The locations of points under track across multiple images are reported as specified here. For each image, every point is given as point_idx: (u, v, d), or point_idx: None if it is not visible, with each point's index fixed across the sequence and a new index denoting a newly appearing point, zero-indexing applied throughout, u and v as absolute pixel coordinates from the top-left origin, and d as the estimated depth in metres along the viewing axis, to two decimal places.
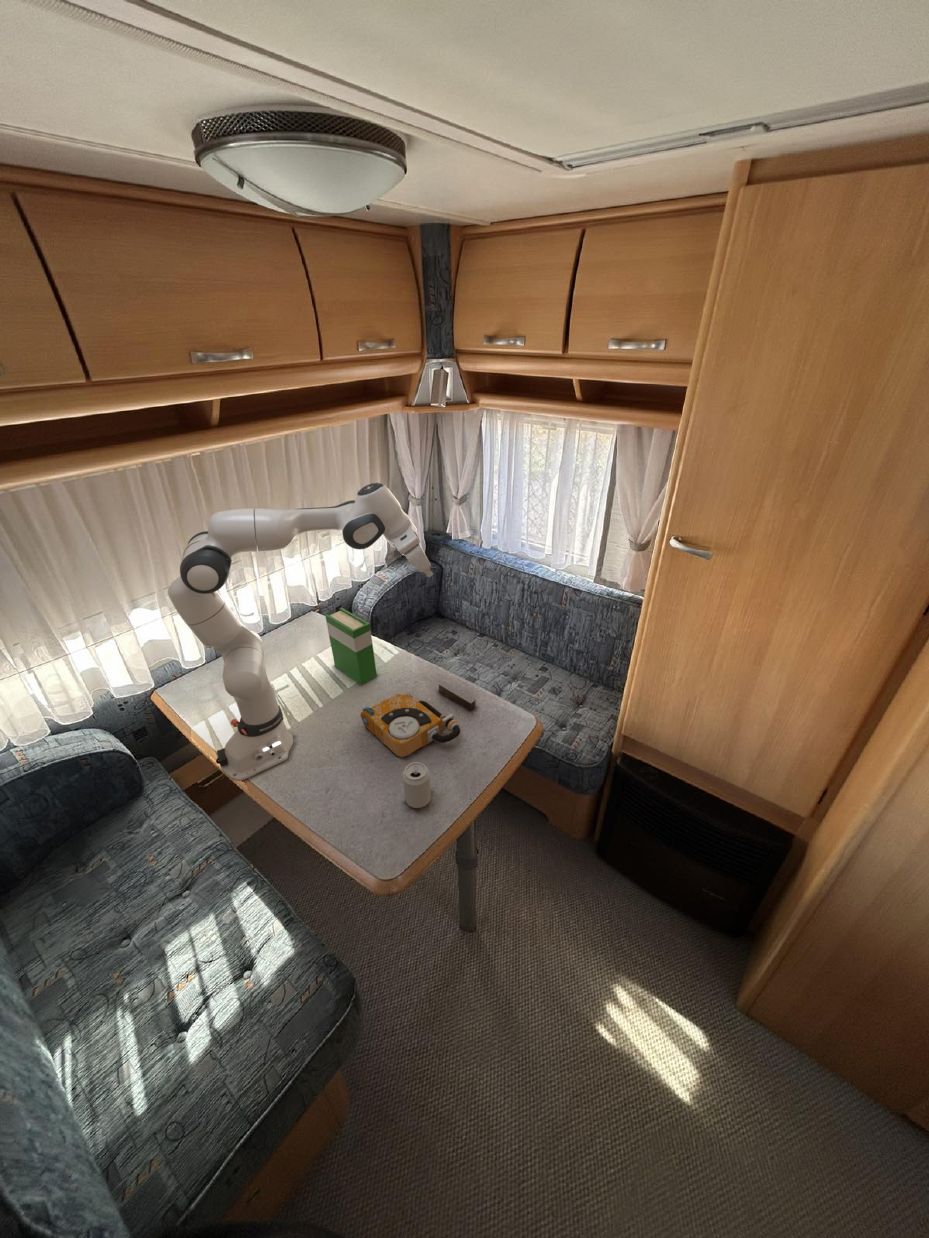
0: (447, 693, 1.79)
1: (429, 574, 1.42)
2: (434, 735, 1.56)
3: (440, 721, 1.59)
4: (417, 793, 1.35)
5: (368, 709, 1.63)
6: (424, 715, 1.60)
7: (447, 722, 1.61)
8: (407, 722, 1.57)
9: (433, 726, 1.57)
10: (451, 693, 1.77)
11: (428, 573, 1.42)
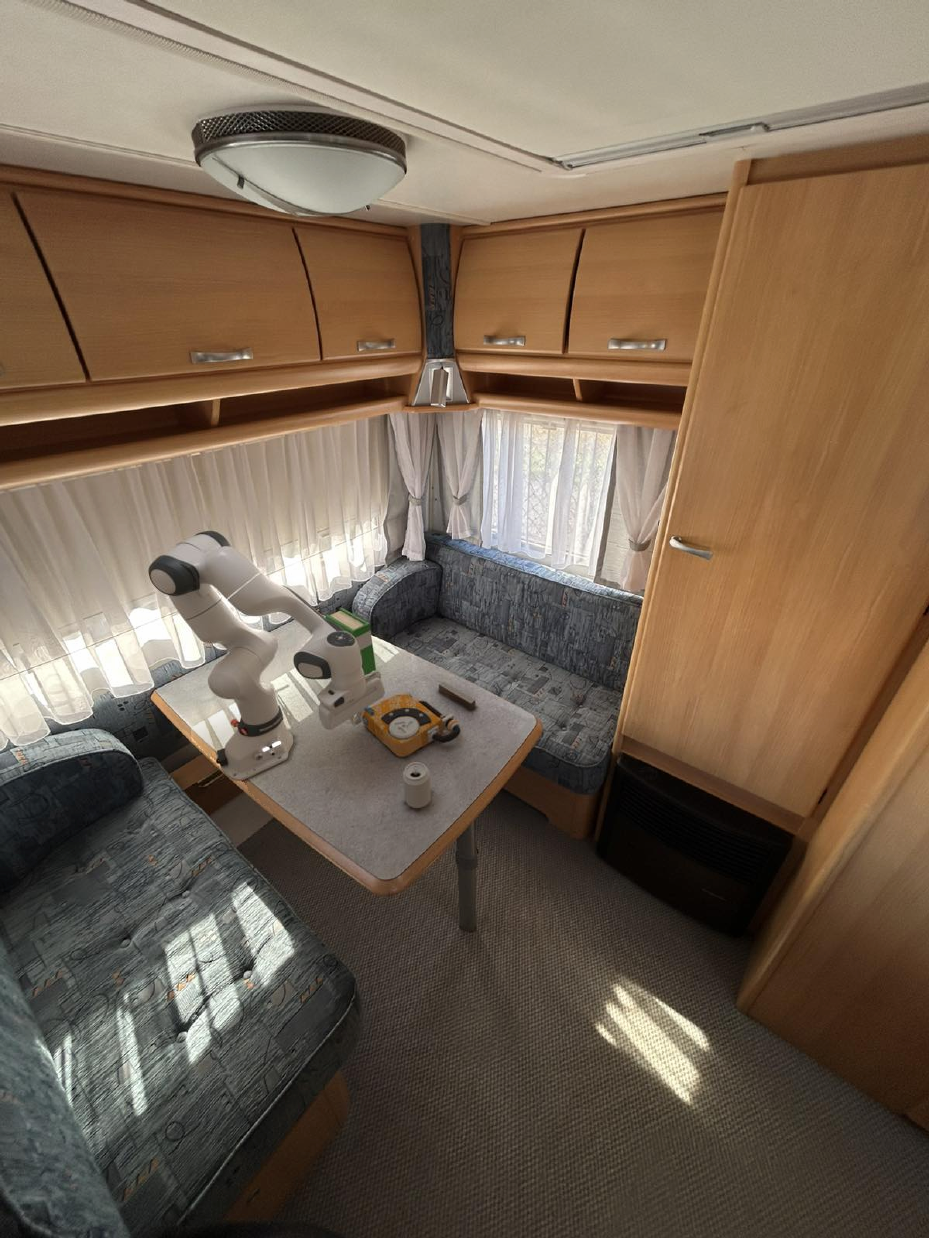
0: (447, 693, 1.79)
1: (352, 723, 1.41)
2: (434, 735, 1.56)
3: (440, 721, 1.59)
4: (417, 793, 1.35)
5: (368, 709, 1.63)
6: (424, 715, 1.60)
7: (447, 722, 1.61)
8: (407, 722, 1.57)
9: (433, 726, 1.57)
10: (451, 693, 1.77)
11: (352, 721, 1.41)
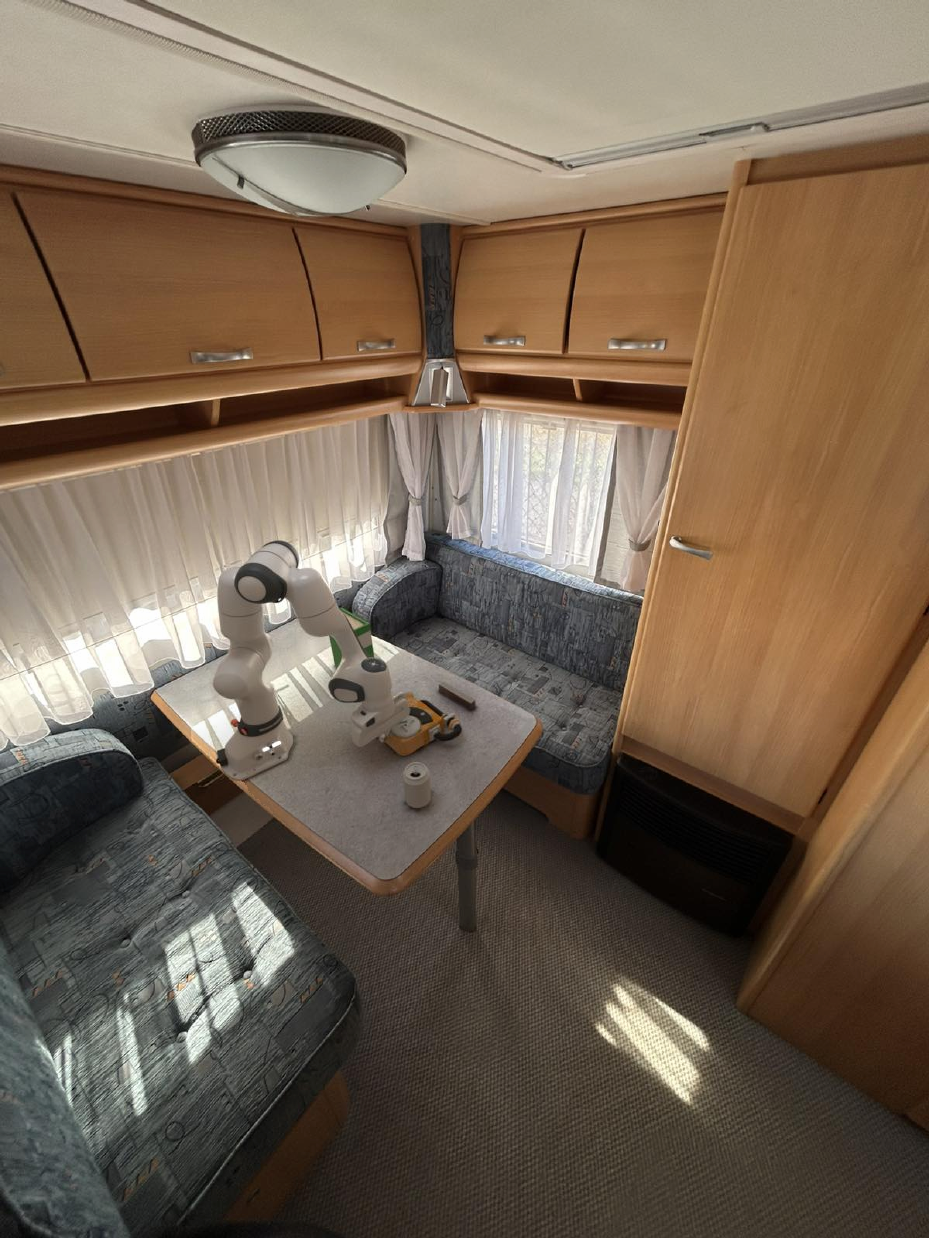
0: (447, 693, 1.79)
1: (380, 739, 1.54)
2: (436, 734, 1.57)
3: (442, 720, 1.59)
4: (417, 793, 1.35)
5: None
6: (426, 714, 1.60)
7: (448, 721, 1.61)
8: (409, 721, 1.58)
9: (435, 725, 1.58)
10: (451, 693, 1.77)
11: (380, 738, 1.53)
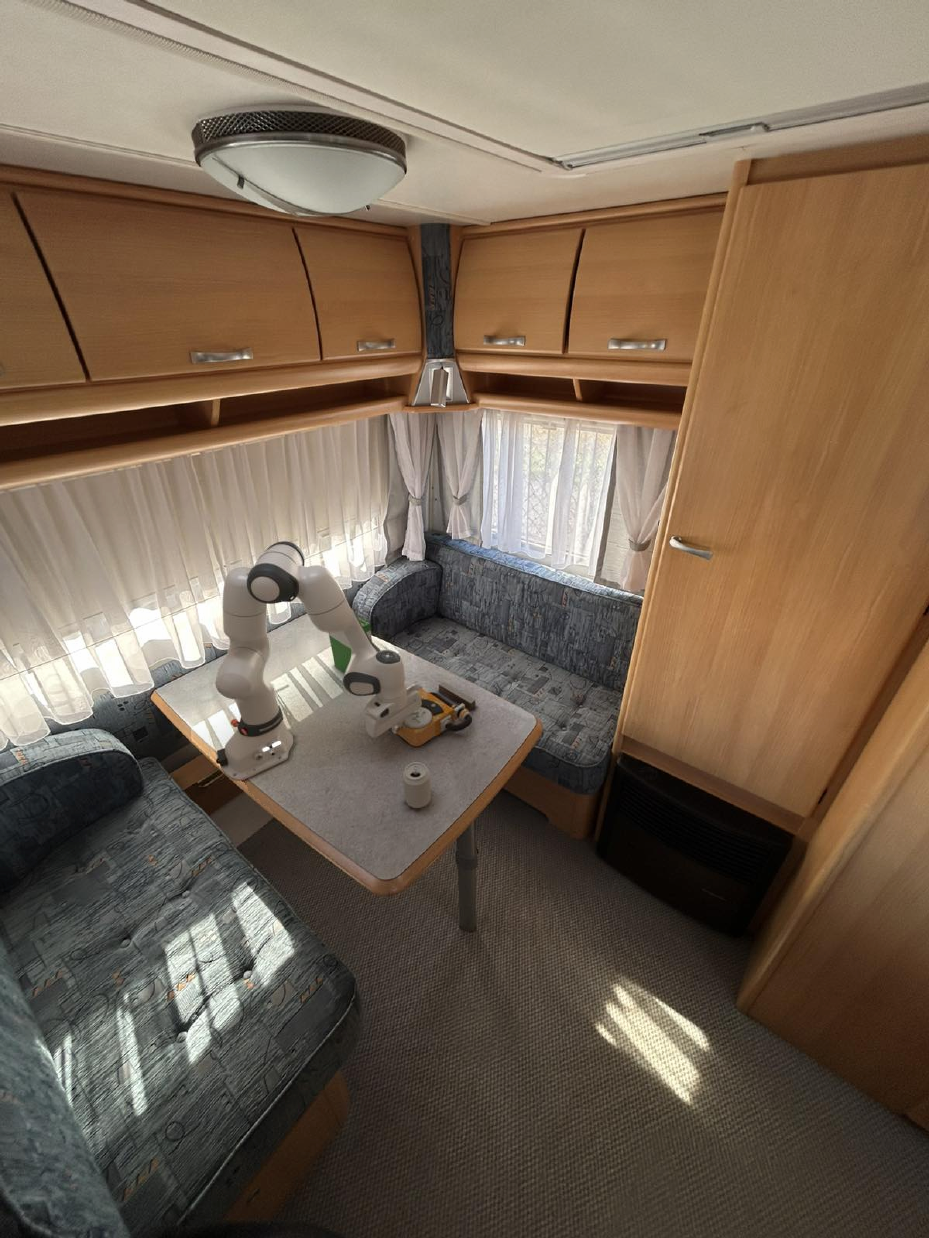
0: (447, 693, 1.79)
1: (393, 730, 1.57)
2: (447, 724, 1.60)
3: (452, 711, 1.63)
4: (417, 793, 1.35)
5: None
6: (436, 705, 1.64)
7: (459, 712, 1.65)
8: (420, 712, 1.61)
9: (446, 716, 1.61)
10: (451, 693, 1.77)
11: (393, 729, 1.57)
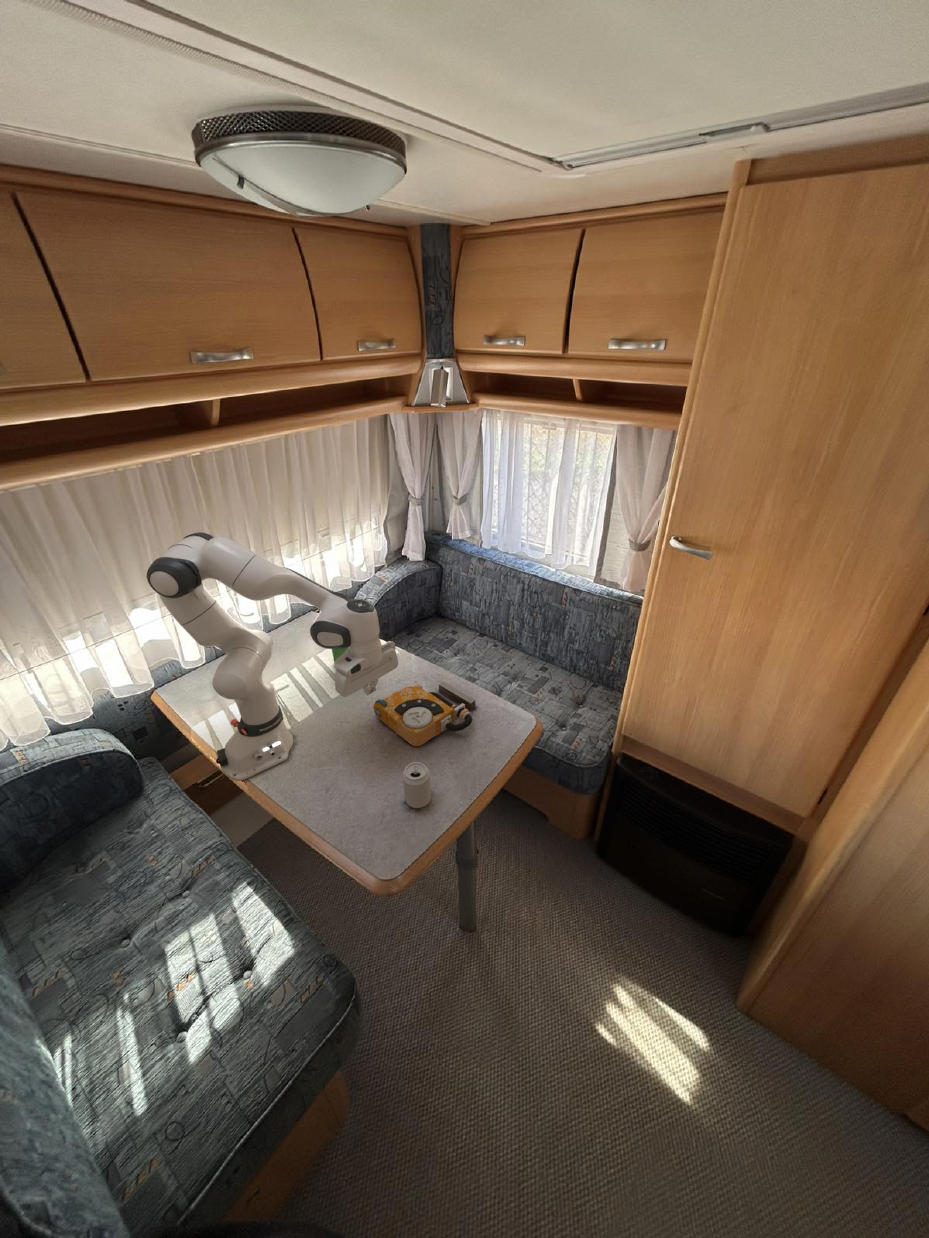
0: (447, 693, 1.79)
1: (365, 692, 1.43)
2: (447, 724, 1.60)
3: (452, 711, 1.63)
4: (417, 793, 1.35)
5: (381, 701, 1.66)
6: (436, 705, 1.64)
7: (459, 711, 1.65)
8: (420, 712, 1.61)
9: (446, 715, 1.61)
10: (451, 693, 1.77)
11: (365, 690, 1.43)
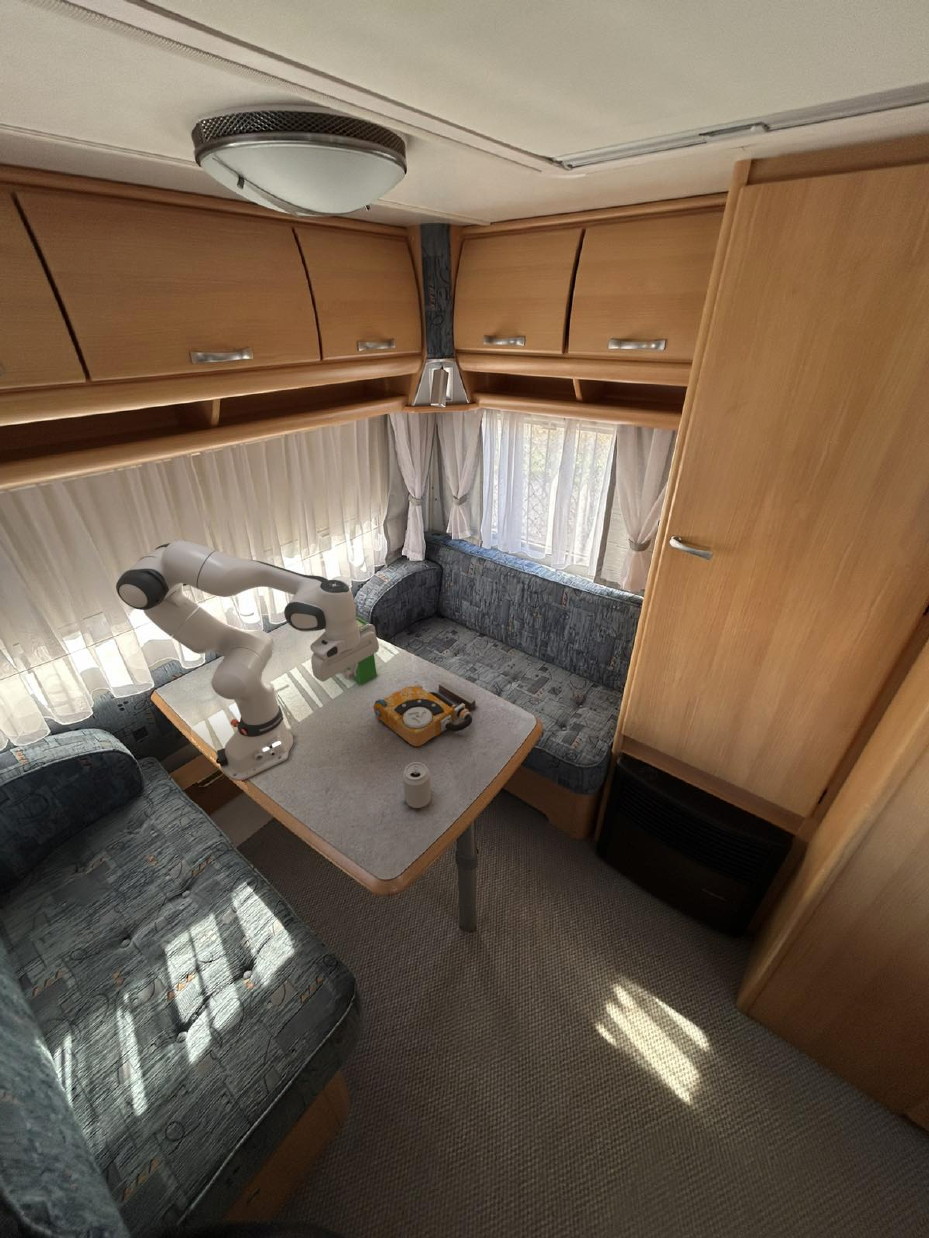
0: (447, 693, 1.79)
1: (345, 677, 1.39)
2: (447, 724, 1.60)
3: (452, 711, 1.63)
4: (417, 793, 1.35)
5: (381, 701, 1.66)
6: (436, 705, 1.64)
7: (459, 711, 1.65)
8: (420, 712, 1.61)
9: (446, 715, 1.61)
10: (451, 693, 1.77)
11: (345, 675, 1.39)
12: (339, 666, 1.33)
